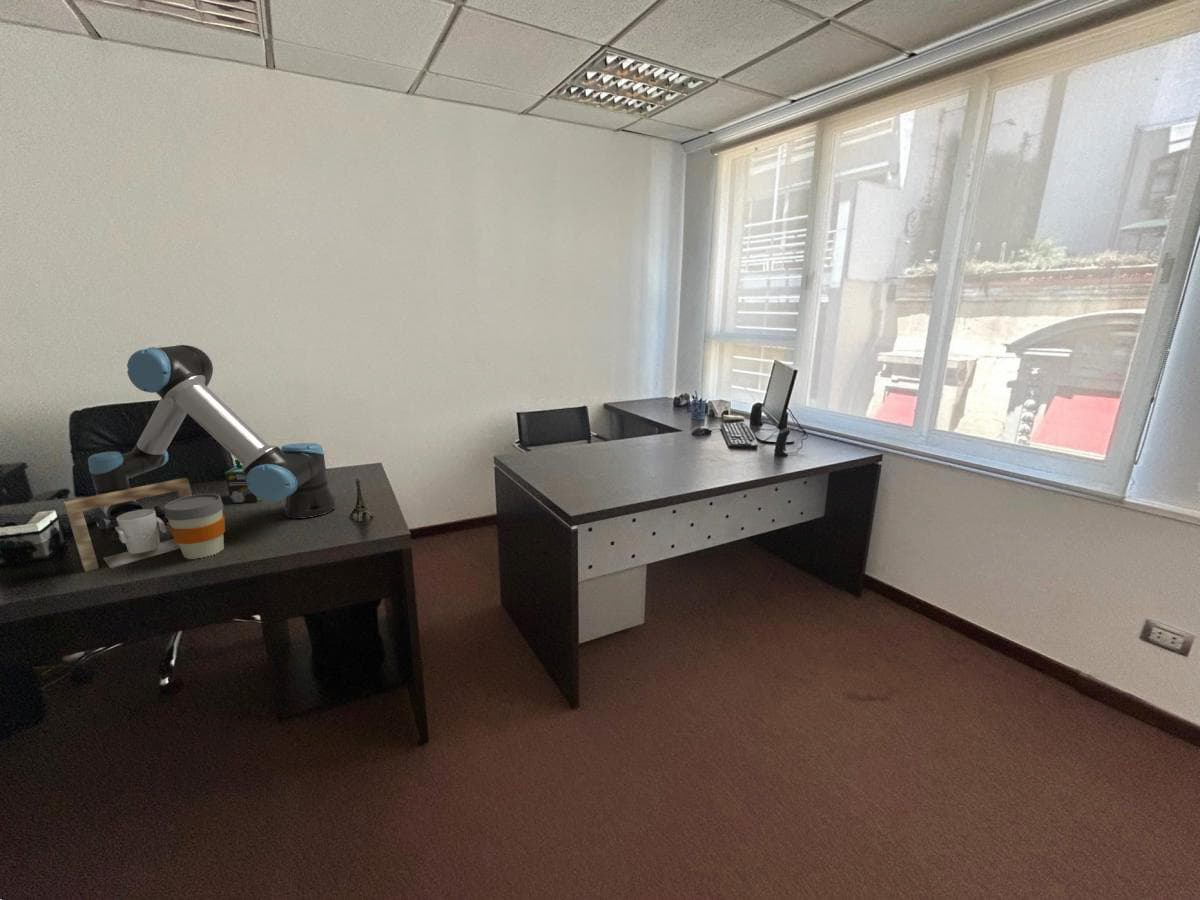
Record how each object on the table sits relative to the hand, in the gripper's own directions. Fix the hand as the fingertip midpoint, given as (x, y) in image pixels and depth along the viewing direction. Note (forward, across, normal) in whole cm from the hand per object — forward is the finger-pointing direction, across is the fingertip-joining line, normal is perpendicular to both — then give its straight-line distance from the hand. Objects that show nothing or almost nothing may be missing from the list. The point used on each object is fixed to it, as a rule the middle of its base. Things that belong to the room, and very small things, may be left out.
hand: (144, 533), depth 134 cm
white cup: (-5, 0, -6) cm, 8 cm away
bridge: (-5, 0, -7) cm, 9 cm away
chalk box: (-29, -34, -8) cm, 45 cm away
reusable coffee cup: (+6, -10, -8) cm, 14 cm away
